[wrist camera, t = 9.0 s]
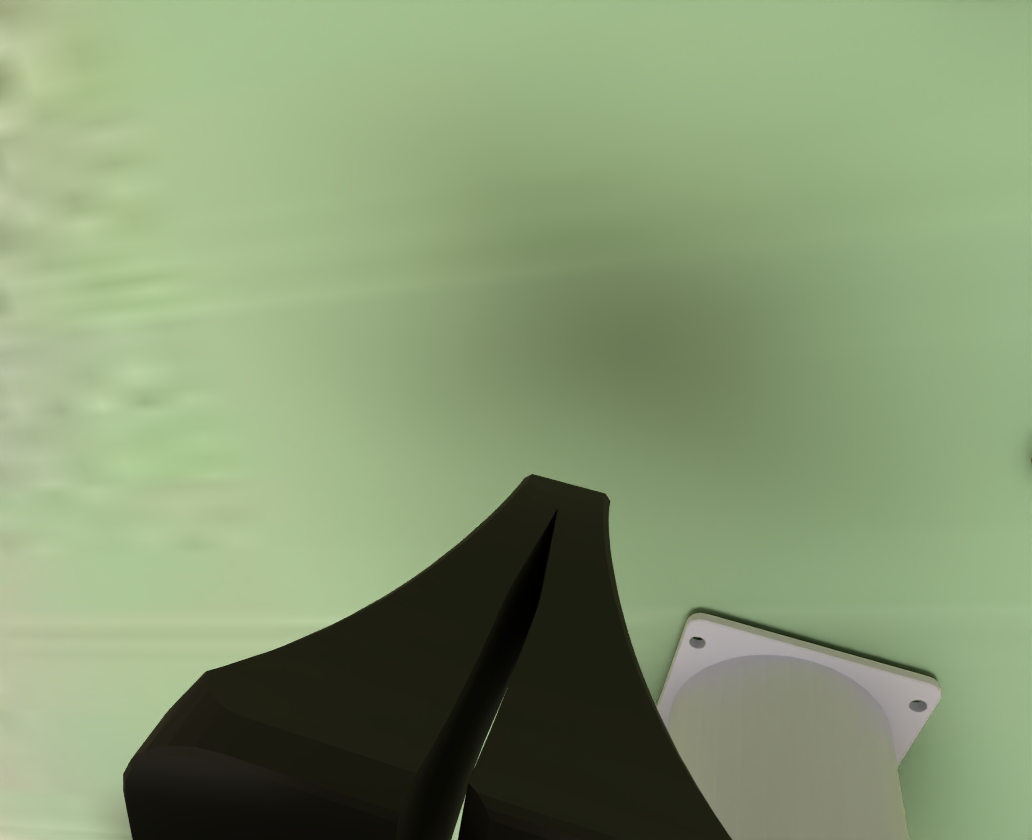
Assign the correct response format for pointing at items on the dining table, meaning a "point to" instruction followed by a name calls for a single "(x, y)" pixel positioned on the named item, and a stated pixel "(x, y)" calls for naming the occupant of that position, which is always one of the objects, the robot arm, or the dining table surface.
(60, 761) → the dining table surface
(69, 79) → the dining table surface
